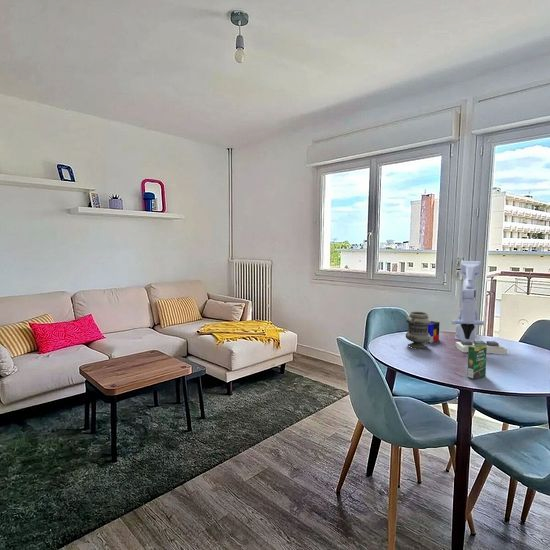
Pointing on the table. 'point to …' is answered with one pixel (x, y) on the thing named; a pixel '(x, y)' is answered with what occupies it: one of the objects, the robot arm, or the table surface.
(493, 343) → the right button
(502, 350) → the button board
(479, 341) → the middle button
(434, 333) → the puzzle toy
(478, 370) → the coffee box
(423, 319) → the stone vase
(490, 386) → the table surface
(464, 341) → the left button
